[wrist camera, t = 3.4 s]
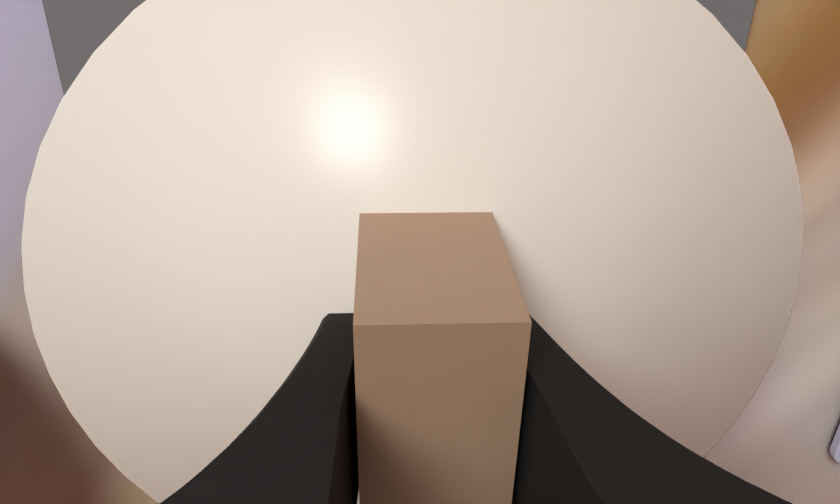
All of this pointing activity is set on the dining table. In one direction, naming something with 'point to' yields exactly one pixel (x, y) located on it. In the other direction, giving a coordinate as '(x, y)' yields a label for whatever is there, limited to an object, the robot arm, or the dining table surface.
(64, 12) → the mat
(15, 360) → the dining table surface
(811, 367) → the dining table surface
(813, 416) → the dining table surface
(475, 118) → the cover
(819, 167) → the dining table surface
